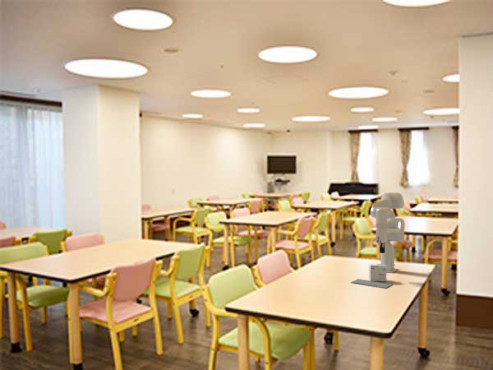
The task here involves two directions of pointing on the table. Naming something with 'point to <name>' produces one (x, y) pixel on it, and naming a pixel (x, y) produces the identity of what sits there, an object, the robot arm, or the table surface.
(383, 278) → the light bulb box
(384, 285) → the mat
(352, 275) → the table surface
